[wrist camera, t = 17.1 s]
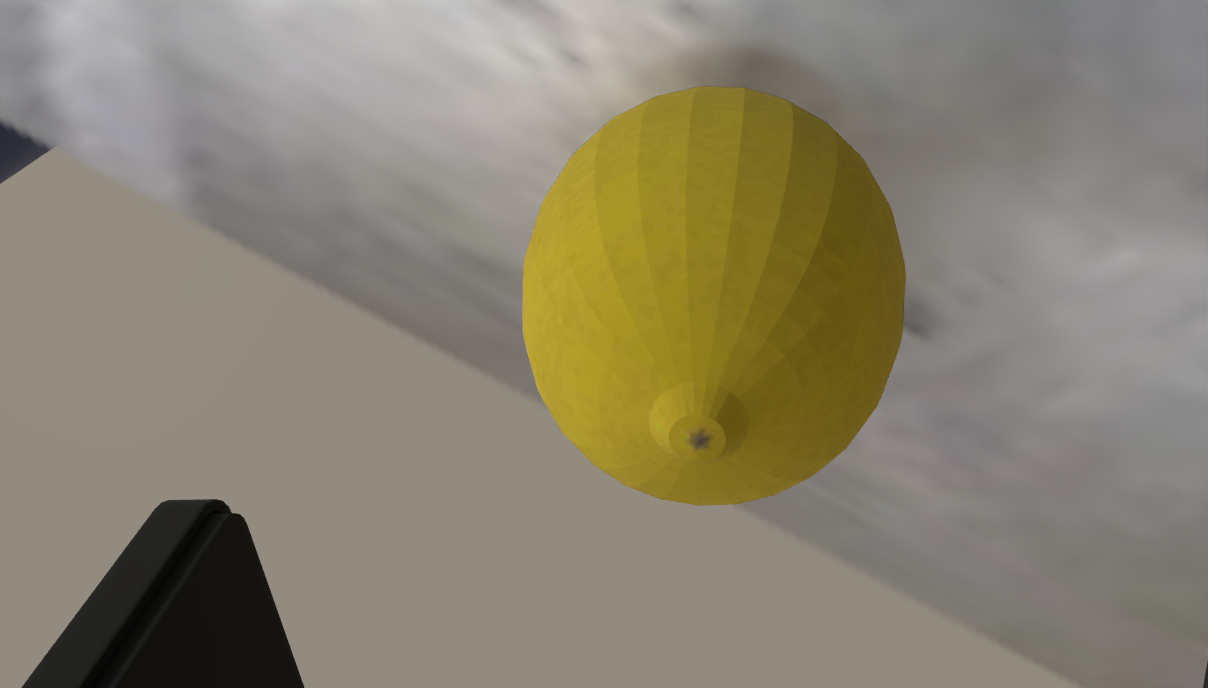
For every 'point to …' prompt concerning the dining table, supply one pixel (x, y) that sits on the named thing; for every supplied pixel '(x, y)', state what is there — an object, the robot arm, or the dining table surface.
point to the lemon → (713, 296)
